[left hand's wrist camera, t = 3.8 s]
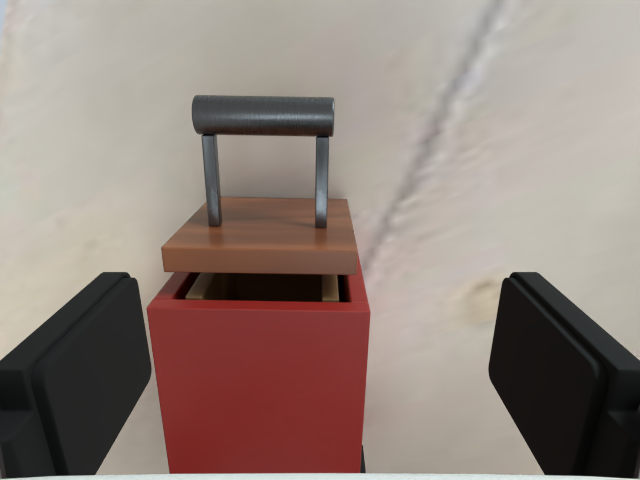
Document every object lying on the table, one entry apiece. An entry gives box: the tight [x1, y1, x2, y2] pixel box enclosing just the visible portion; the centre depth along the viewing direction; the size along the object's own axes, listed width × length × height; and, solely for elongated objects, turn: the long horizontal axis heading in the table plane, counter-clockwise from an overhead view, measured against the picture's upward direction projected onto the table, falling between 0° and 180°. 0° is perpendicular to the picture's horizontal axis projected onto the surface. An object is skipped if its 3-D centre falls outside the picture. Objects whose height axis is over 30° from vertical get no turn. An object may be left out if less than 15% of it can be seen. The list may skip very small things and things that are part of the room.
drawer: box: [161, 95, 358, 302], centre depth 25 cm, size 22×9×9 cm, turn 179°
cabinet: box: [147, 256, 370, 474], centre depth 27 cm, size 17×10×11 cm, turn 179°
